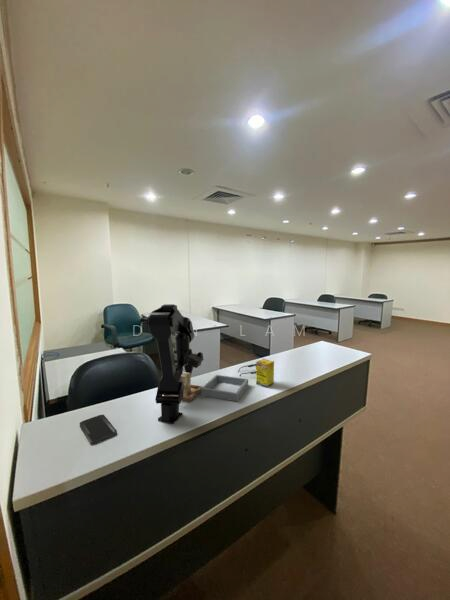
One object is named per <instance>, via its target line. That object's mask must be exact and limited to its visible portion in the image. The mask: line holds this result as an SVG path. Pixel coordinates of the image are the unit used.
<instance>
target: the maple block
mask: <svg viewBox="0 0 450 600" xmlns="http://www.w3.org/2000/svg"><path fill="white" fill-rule="evenodd" d="M182 373H183V374H182V375H181V376H182V382H183V383H184V391H183V395H187V394H188V393H189V392H190V391H191V385H192V384H191V383H192V382H191V381H192V380H191V378H192V374H190V373H187V372H185V371H182Z"/></svg>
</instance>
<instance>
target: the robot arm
mask: <svg viewBox="0 0 450 600" xmlns="http://www.w3.org/2000/svg"><path fill="white" fill-rule="evenodd" d="M146 325H147V326H148V329H149V333H150V335H151V336H152V337H153V338H154V339H155V340H156V343H157V350H158V351H157V352H158V355H159V357H158V358H159V363H160V368H161V375H162V376H161V378H160V380H159V381H158V385H157V390H156V394H155V395H156V396H155V403H156V404H160V410H161V413H160V414H161V415H160V417H158V418H157V421H158V422H164V423H168V424H171V425H172V424H173V425H174V424H175V423H176V422H177V421H178V420H179V419H180V418H181V417H182V416H183V414H184V413H183V412H180V404H181V403H182V402H183V401H182V399H183V391H184V383H183V382H182V376H181V375H182V374H183V373H182V372H187V373H190V374H191V375H192V373H193V370H194V369H197V368H199V367H200V366H201V365H202V362H203V361H204V355H203V354H204V353H202V352H201V351H200V352H198V353H193V350H192V348H190V343H192V341H194V339H195V334H194V327H193V322H192V321H191V319H190V318H189V317H187V316H184V315H182V313H181V311H179V309H178V305H177V304H167V303H165V304H162V305H160V307H158V308H156V309H154V310H153V311H151V313H150V314H149V315H148V316H147V318H146ZM173 332H174V333H177V335H176V336H175V350H174V348H173V340H172V339H173V338H172V335H173ZM164 395H178V396H164Z"/></svg>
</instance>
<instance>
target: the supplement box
mask: <svg viewBox="0 0 450 600" xmlns="http://www.w3.org/2000/svg"><path fill="white" fill-rule="evenodd" d="M255 364H256V366H255V369H256V370H255V371H256V376H255V377H256V380H255V382H256V385H258V386H261V387H264V388H266V389H267V388H269V387H270V386H272V385H274V383H275V382H274V381H275V379H274V377H275V376H274V375H275V360H274V361H273V360H270V359H266V358H261V359H260V360H257V361H256V363H255Z"/></svg>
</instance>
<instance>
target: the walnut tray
mask: <svg viewBox="0 0 450 600" xmlns="http://www.w3.org/2000/svg"><path fill="white" fill-rule="evenodd" d="M202 388H203V386H202V385H195V384H191V391H190V392H189V393H188V394H187V395H183V399H182V401H181V402H187V403H190V402H191V401H192V400H193V399H195V398H196V397H197V395H199V394H200V393H202ZM163 396H178V395H163Z"/></svg>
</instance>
